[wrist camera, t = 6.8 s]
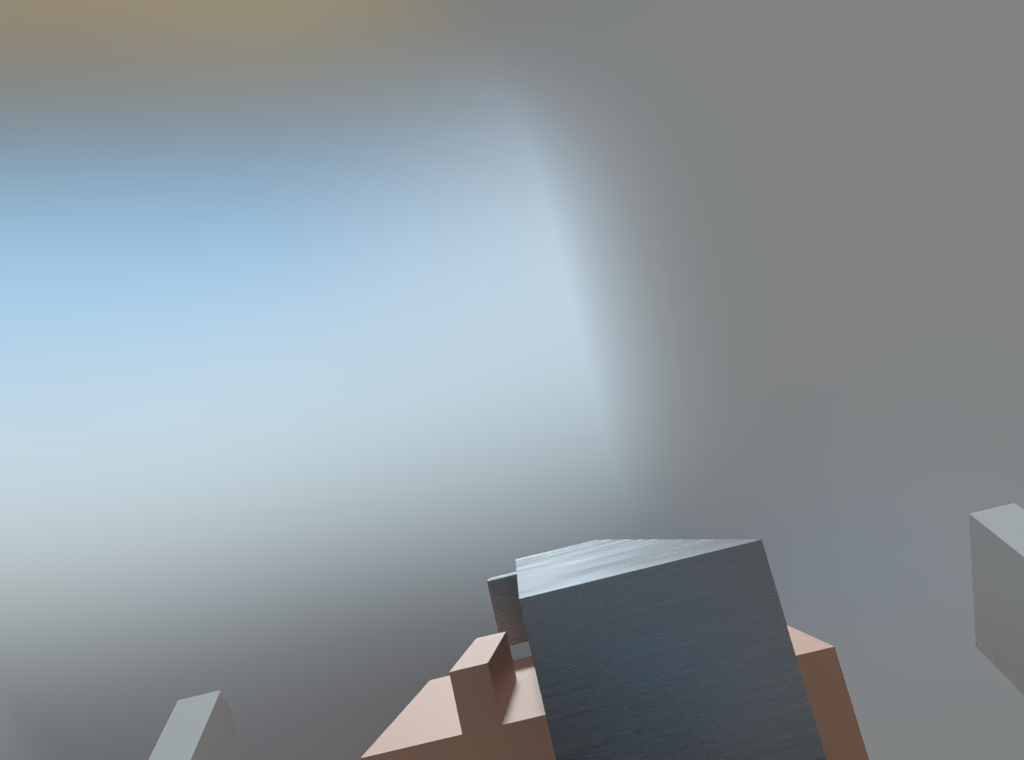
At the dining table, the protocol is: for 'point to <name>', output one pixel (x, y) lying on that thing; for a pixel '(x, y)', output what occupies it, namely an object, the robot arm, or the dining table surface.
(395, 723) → the stand
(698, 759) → the t bar
